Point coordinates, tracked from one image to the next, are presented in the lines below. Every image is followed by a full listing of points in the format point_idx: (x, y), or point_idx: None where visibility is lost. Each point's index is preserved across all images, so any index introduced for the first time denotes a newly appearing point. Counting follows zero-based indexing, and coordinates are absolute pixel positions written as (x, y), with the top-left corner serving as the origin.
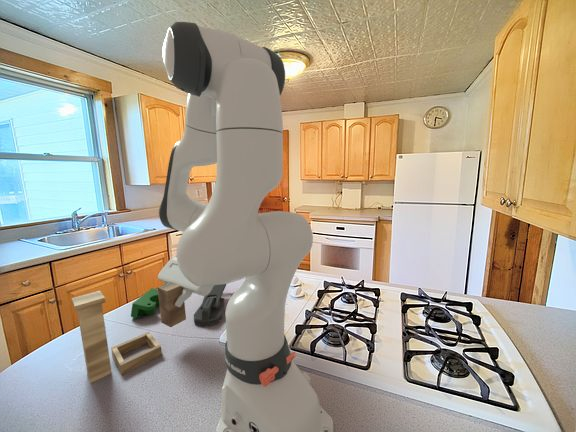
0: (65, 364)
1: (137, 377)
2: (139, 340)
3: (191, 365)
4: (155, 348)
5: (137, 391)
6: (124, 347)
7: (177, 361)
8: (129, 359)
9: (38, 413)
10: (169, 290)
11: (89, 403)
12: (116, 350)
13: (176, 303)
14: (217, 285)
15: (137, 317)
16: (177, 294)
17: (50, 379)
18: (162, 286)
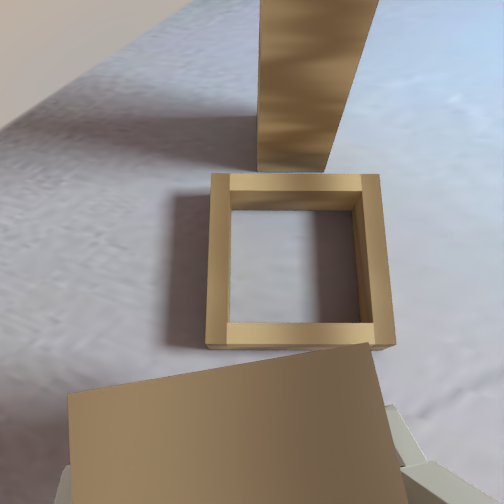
0: (439, 75)
1: (152, 230)
2: (365, 289)
3: (21, 422)
4: (210, 316)
5: (79, 211)
6: (360, 225)
7: (104, 385)
8: (222, 207)
9: (234, 12)
10: (69, 443)
11: (159, 100)
12: (337, 184)
13: (62, 477)
14: None
15: None
16: None
17: (379, 39)
18: (356, 424)
